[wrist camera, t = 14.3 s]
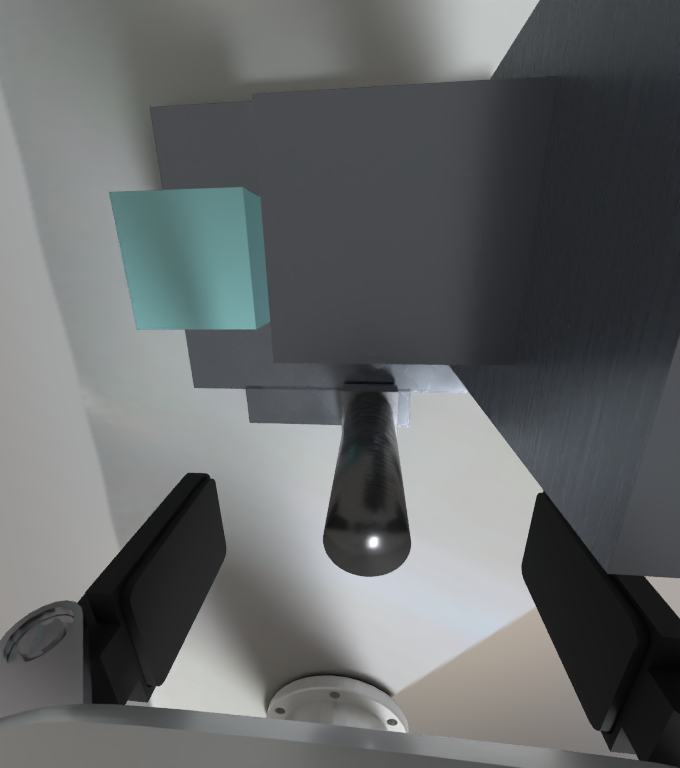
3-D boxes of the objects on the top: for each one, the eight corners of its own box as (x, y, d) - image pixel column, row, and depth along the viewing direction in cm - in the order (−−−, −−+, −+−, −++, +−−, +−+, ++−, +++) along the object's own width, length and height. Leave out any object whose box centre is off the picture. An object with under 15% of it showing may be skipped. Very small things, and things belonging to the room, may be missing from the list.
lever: (394, 433, 20) (414, 584, 11) (343, 431, 21) (318, 578, 11) (396, 384, 19) (420, 502, 10) (343, 384, 20) (314, 498, 10)
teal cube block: (285, 313, 18) (256, 329, 14) (195, 313, 19) (137, 329, 14) (279, 209, 17) (242, 187, 12) (180, 212, 17) (109, 192, 13)
